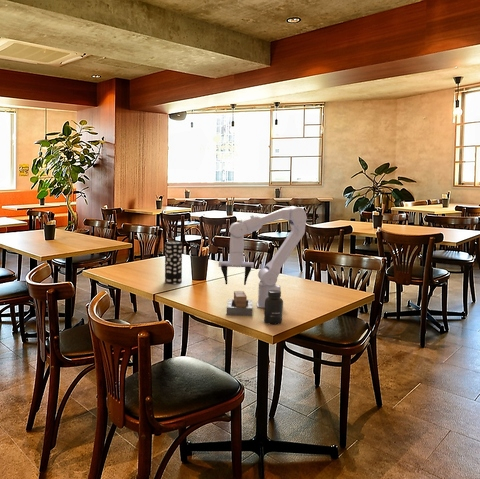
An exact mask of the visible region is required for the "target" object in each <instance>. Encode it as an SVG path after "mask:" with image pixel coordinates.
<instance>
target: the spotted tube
mask: <svg viewBox="0 0 480 479" xmlns="http://www.w3.org/2000/svg"><path fill="white" fill-rule="evenodd" d="M164 243H165V244H164V283H165V284H168V285H177V284H181V283H182V278H183V276H182V275H183V267H182V266H183V242H181V241H166V242H164Z"/></svg>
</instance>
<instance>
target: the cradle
mask: <svg viewBox="0 0 480 479" xmlns="http://www.w3.org/2000/svg"><path fill="white" fill-rule="evenodd" d="M226 316H244V317H245V316H246V317H247V316H248V317H253V299H247V301H246V307H234V298H228V300H227V303H226Z"/></svg>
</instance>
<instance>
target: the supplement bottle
mask: <svg viewBox="0 0 480 479" xmlns="http://www.w3.org/2000/svg"><path fill="white" fill-rule="evenodd" d="M283 307H284V299H283V298H282V290H281V291H279V290H269V291H268V297H267V298H266V299H265V308H264V310H263V312H264V313H263V314H264V315H263V321H264V323H265V324H268V325H274V326H276V325H281V324H282V322H283V315H284V314H283V313H284V312H283V311H284V310H283V309H284V308H283Z"/></svg>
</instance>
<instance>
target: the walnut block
mask: <svg viewBox="0 0 480 479" xmlns="http://www.w3.org/2000/svg"><path fill="white" fill-rule="evenodd" d="M247 297H248V296H247V294H246V293H245V290H233V299H234V307H246V301H247V300H248V299H247Z"/></svg>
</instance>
